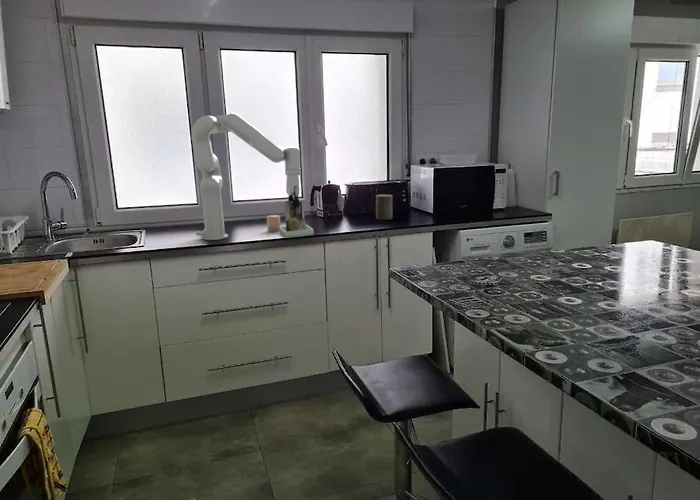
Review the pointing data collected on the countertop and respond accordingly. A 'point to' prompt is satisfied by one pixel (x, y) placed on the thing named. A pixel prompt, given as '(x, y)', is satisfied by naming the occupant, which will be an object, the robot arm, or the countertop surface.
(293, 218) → the coffee box
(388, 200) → the pillar candle
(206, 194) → the robot arm
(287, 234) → the tray
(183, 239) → the countertop surface
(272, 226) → the light brown rounded block
